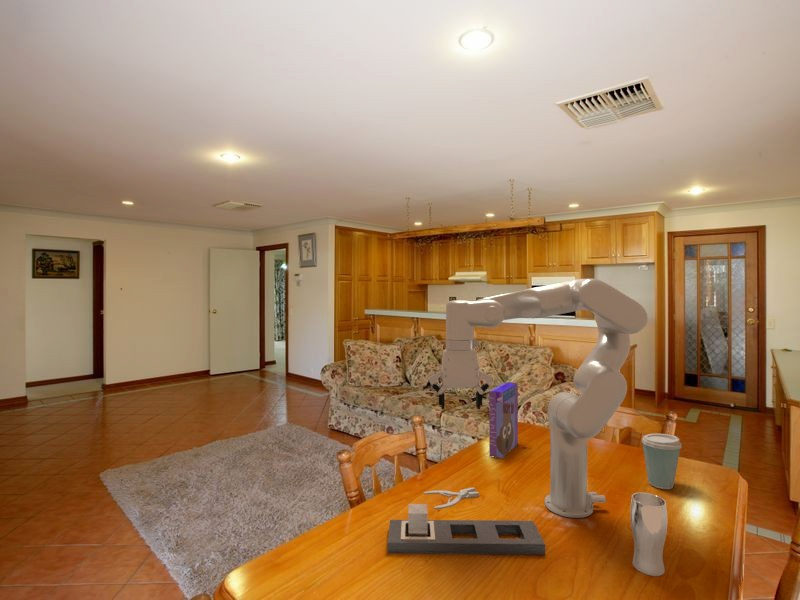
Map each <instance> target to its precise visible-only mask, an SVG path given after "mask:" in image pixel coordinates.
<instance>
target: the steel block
mask: <svg viewBox="0 0 800 600" xmlns="http://www.w3.org/2000/svg"><path fill="white" fill-rule="evenodd" d="M407 516H408V517H407V518H408V519H407V520H408V529H409V534H408V537H429V536H428V535H429V534H428V524H427V520H428V504H427V503H408V514H407Z"/></svg>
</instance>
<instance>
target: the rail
mask: <svg viewBox="0 0 800 600" xmlns="http://www.w3.org/2000/svg"><path fill="white" fill-rule="evenodd" d="M427 524H428V535H429V536H428V537H409V536H407V535H409V529H408V519H389V527H388V536H387V554H397V555H398V554H404V555H405V554H406V555H407V554H409V555H411V554H417V555H420V554H421V555H425V554H426V555H511V556H512V555H513V556H514V555H516V556H517V555H518V556H519V555H521V556H522V555H523V556H524V555H525V556H531V555H532V556H545V555H546V543H545V541H544V539H543V537H542V534H541V533H540V531H539V529H538V528H537V525H536V523H535V521H534V520H499V519H498V520H496V519H495V520H487V519H486V520H482V519H478V520H477V519H471V520H470V519H463V520H462V519H459V520H458V519H427ZM453 535H467V536H468V535H472V536H473V535H474V538H463V537H462V538H457V537H454V538H453ZM499 535H500V536H502V535H503V536H519V538H500V537H499Z"/></svg>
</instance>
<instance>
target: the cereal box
mask: <svg viewBox="0 0 800 600" xmlns="http://www.w3.org/2000/svg"><path fill="white" fill-rule="evenodd" d="M518 387H519V385H518V383H517V382H511V381H510V382H509V381H507V382H503V383H502V384H500V385H498V386H496V387H495V388H493V389H491V390H489V391H488V392H489V394H488V397H489V408H488V409H489V410H488V411H489V413H488V414H489V416H488V417H489V424H488V425H489V433H488V434H489V438H488V439H489V441H488V442H489V444H488V445H489V446H488V447H489V451H488V452H489V457H490V456H494V457H493V458H495V457H498V458H497V459H499V458H503V457H504V456H505V455H506V454H507V453H508V452H509V451H510V450H511V449H512V450H514V448H515V447H516V446H518V444H519V439H518V438H519V436H518V434H519V424H518V423H519V422H518V421H519V417H518V416H519V415H518V413H519V412H518V410H519V409H518V408H519V405H518V404H519V399H518V397H519V395H518V394H519V393H518V392H519V390H518V389H519V388H518ZM512 450H511V451H512ZM511 451H510V452H511ZM510 452H509V453H510ZM509 453H508V454H509ZM508 454H507V455H508ZM507 455H506V456H507ZM506 456H505V457H506ZM505 457H504V458H505ZM504 458H503V459H504Z"/></svg>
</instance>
